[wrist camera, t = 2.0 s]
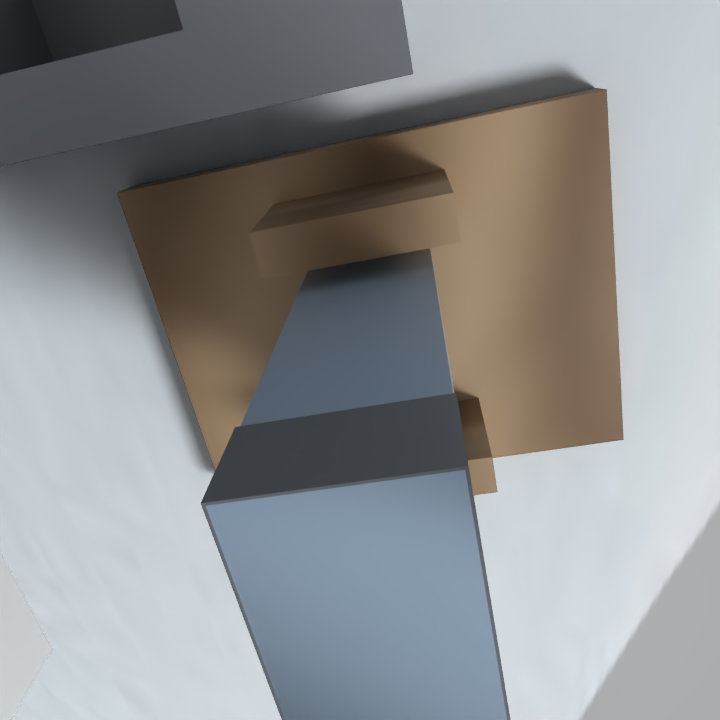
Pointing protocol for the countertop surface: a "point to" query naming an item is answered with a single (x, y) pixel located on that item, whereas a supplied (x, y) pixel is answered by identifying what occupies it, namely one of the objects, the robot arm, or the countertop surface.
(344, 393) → the plug
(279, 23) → the port box
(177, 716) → the countertop surface
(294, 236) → the holster
